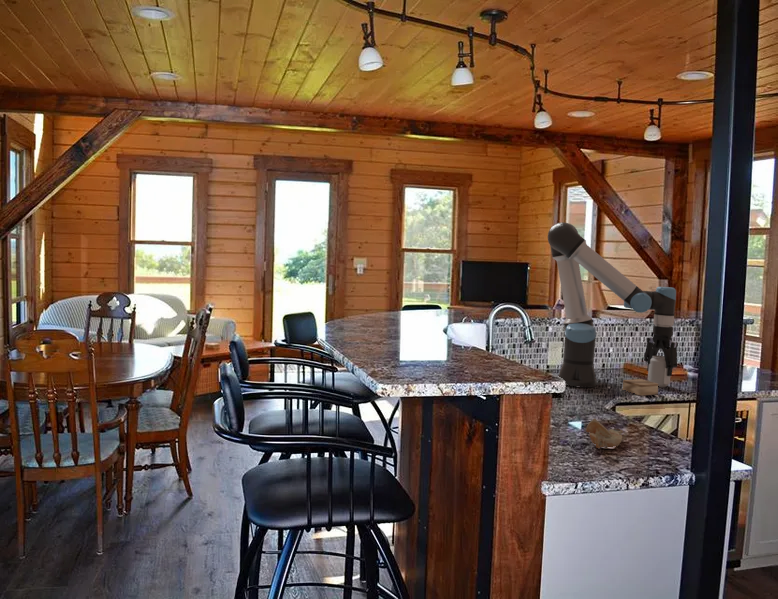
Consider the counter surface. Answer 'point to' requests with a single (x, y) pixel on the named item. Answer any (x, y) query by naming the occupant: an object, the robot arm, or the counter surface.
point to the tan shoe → (603, 435)
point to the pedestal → (640, 387)
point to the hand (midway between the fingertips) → (658, 381)
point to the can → (657, 370)
